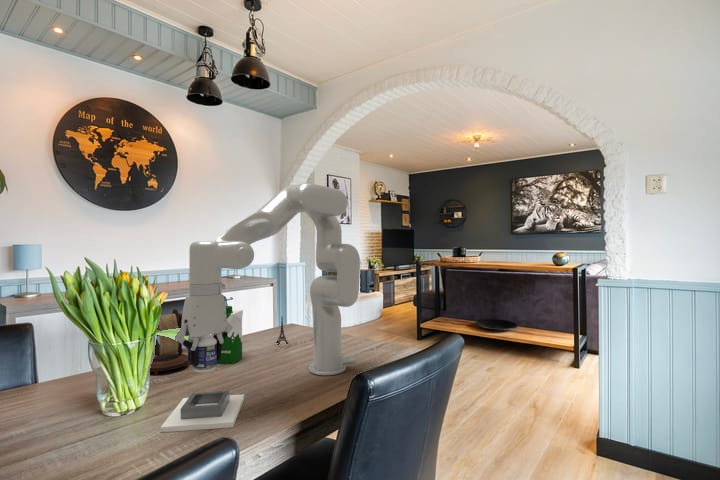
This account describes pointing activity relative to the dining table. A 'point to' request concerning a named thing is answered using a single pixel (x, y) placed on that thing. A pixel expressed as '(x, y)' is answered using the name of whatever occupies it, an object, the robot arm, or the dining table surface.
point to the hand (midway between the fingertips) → (205, 361)
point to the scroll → (168, 346)
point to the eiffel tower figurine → (281, 334)
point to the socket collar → (205, 410)
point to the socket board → (225, 421)
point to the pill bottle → (206, 354)
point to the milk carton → (232, 338)
